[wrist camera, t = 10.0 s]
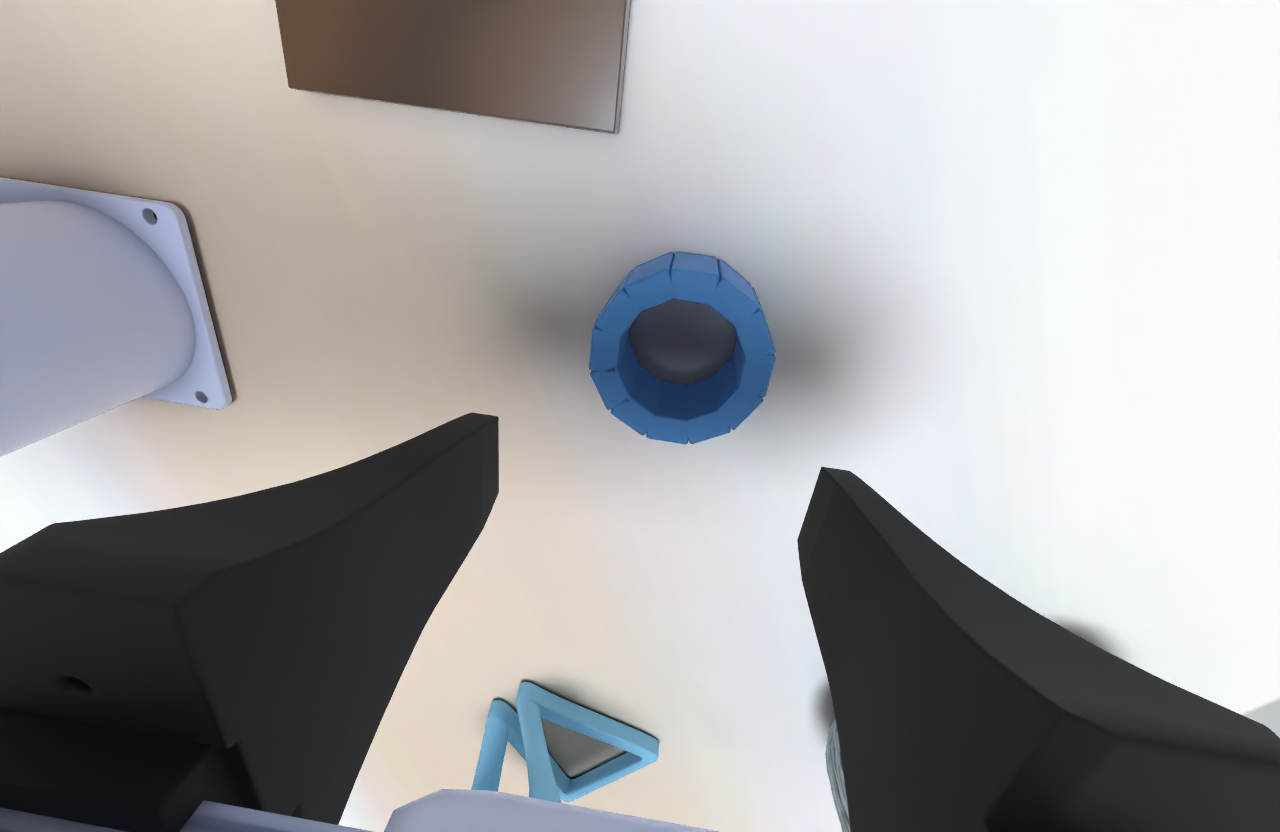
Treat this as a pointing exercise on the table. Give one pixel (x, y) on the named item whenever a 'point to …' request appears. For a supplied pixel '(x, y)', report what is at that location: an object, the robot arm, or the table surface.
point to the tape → (676, 405)
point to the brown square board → (465, 55)
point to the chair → (532, 745)
